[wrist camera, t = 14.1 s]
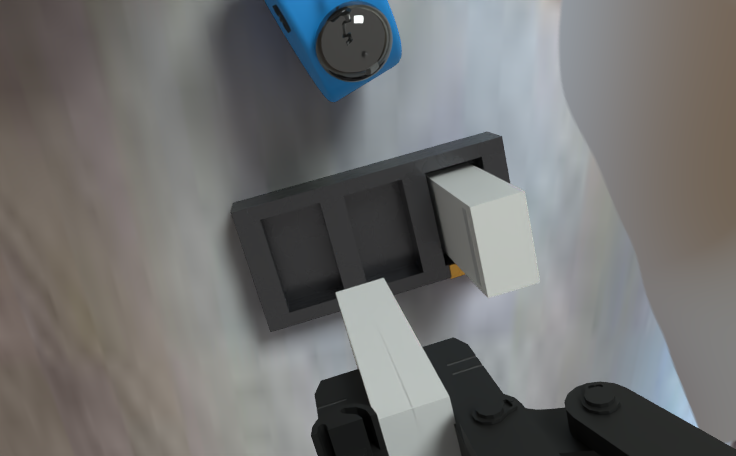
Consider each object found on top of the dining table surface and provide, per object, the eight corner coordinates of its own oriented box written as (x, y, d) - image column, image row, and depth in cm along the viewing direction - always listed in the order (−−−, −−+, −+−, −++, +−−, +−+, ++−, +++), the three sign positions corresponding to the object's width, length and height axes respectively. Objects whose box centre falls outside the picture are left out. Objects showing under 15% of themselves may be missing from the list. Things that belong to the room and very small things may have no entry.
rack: (232, 203, 51) (230, 213, 47) (487, 131, 53) (502, 136, 49) (271, 318, 54) (271, 336, 51) (508, 247, 56) (524, 259, 53)
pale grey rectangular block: (423, 174, 52) (469, 207, 41) (468, 162, 52) (525, 191, 41) (440, 248, 54) (487, 298, 43) (482, 235, 55) (540, 282, 43)
